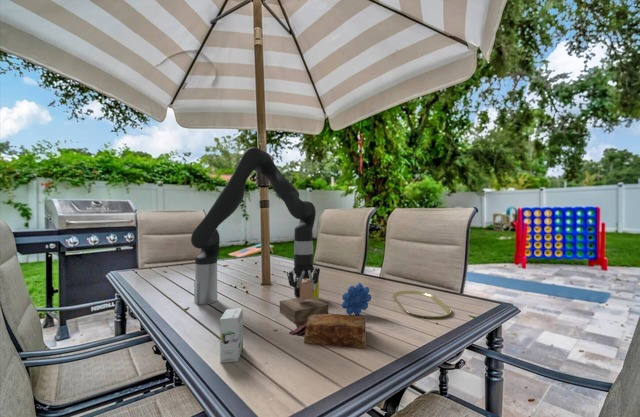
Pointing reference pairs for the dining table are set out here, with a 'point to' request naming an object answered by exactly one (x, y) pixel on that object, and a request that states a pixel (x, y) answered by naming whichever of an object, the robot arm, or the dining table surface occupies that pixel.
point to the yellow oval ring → (427, 296)
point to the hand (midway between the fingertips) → (303, 295)
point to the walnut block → (302, 309)
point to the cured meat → (333, 330)
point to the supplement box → (315, 289)
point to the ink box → (231, 335)
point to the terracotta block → (306, 290)
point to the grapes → (356, 299)
